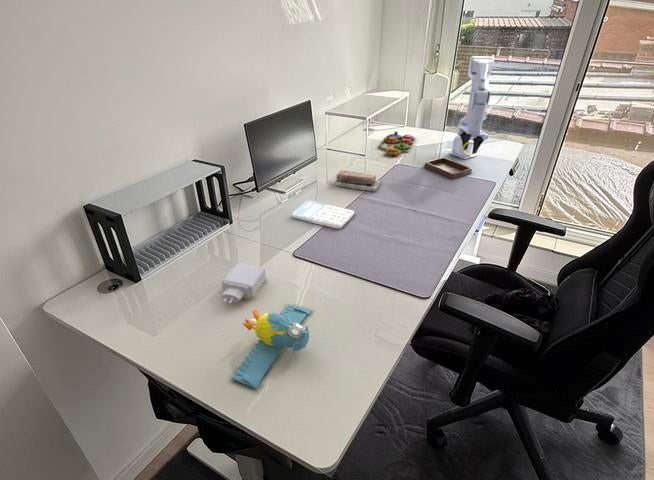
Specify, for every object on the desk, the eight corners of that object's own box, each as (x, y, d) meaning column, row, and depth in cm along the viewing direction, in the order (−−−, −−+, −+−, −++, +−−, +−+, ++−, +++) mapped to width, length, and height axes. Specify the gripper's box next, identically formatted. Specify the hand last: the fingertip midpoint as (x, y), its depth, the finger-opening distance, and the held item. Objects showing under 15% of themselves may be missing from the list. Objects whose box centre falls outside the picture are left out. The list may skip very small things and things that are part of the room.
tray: (424, 166, 196) (425, 162, 195) (442, 161, 201) (443, 157, 200) (452, 179, 184) (453, 174, 183) (471, 173, 190) (472, 168, 188)
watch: (461, 155, 188) (464, 141, 185) (461, 152, 190) (464, 139, 187) (475, 156, 187) (478, 142, 183) (475, 154, 189) (478, 140, 186)
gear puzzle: (405, 158, 204) (406, 150, 202) (373, 154, 209) (373, 146, 207) (415, 139, 228) (417, 132, 226) (386, 136, 233) (387, 129, 230)
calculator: (339, 230, 147) (340, 225, 146) (291, 217, 155) (290, 213, 154) (355, 214, 157) (355, 210, 156) (308, 203, 164) (308, 199, 163)
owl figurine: (276, 276, 109) (329, 291, 105) (277, 301, 115) (328, 317, 110) (213, 347, 89) (276, 370, 84) (218, 374, 94) (277, 398, 89)
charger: (212, 306, 113) (237, 275, 125) (243, 313, 111) (266, 280, 123) (209, 292, 110) (236, 262, 122) (241, 299, 108) (265, 267, 120)
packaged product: (334, 175, 175) (341, 167, 183) (333, 186, 178) (340, 177, 185) (376, 181, 170) (381, 172, 178) (375, 192, 173) (380, 183, 180)
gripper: (456, 117, 183) (450, 148, 191) (483, 125, 173) (476, 157, 181) (467, 115, 186) (461, 145, 194) (494, 123, 176) (487, 154, 184)
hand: (469, 151), depth 188 cm, fingers closed on watch, 5 cm apart
